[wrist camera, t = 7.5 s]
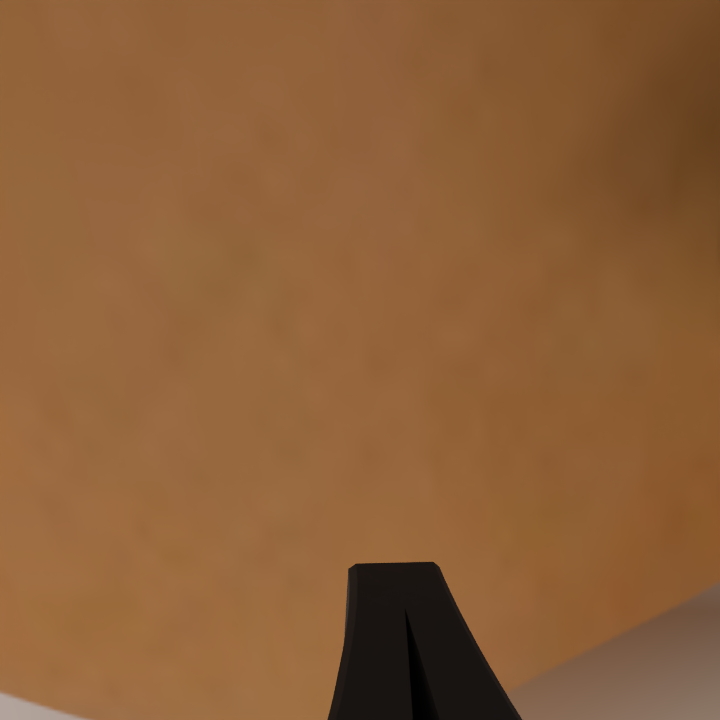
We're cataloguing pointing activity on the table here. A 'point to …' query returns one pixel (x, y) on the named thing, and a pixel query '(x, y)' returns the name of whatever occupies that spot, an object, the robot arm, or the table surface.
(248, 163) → the table surface
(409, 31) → the table surface
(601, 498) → the table surface
